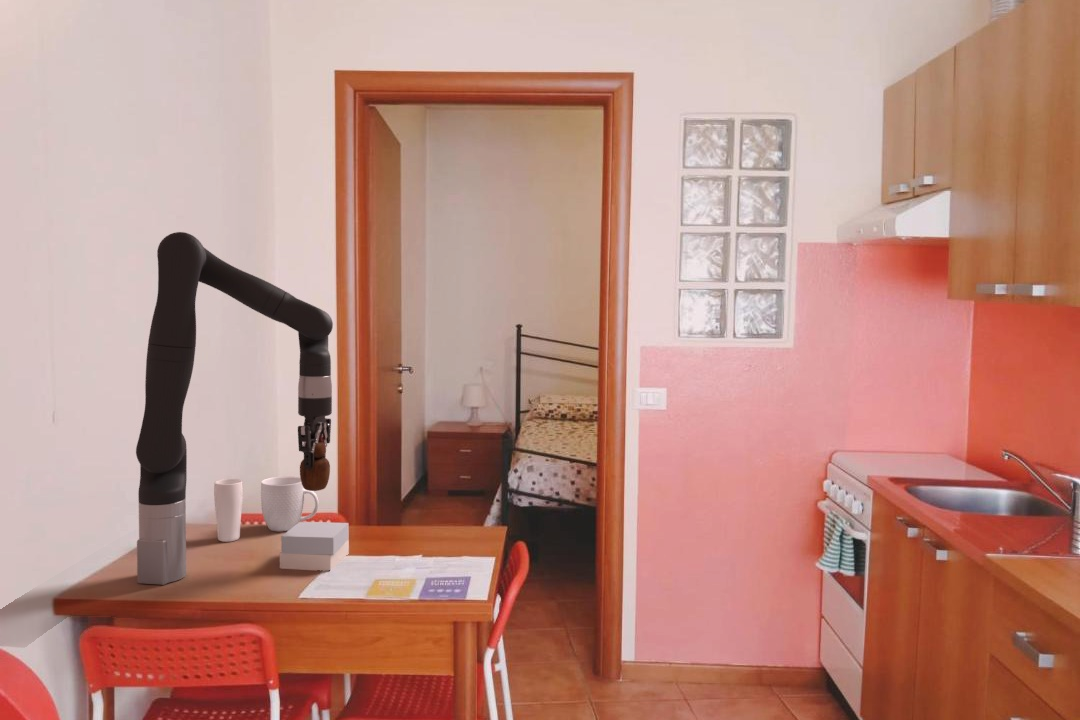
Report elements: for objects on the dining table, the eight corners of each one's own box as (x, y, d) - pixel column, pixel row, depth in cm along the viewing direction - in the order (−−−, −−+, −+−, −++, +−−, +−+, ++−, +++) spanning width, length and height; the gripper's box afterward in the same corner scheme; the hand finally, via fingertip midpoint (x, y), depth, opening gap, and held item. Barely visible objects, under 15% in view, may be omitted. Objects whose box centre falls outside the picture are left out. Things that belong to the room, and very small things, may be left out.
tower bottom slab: (330, 572, 174) (330, 555, 174) (279, 570, 175) (279, 553, 175) (348, 556, 186) (348, 539, 186) (301, 553, 187) (301, 537, 187)
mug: (320, 521, 214) (320, 475, 213) (317, 533, 203) (317, 484, 202) (264, 523, 211) (264, 476, 210) (257, 535, 200) (257, 485, 199)
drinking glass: (215, 536, 198) (215, 479, 197) (243, 534, 200) (243, 478, 199) (213, 544, 192) (212, 485, 191) (242, 542, 194) (241, 483, 193)
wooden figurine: (299, 493, 176) (299, 428, 175) (299, 487, 181) (300, 424, 180) (330, 491, 178) (330, 427, 177) (329, 485, 183) (329, 423, 182)
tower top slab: (333, 554, 174) (333, 537, 174) (281, 553, 175) (281, 536, 175) (348, 539, 186) (348, 522, 186) (300, 537, 187) (299, 521, 187)
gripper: (318, 399, 171) (318, 473, 172) (342, 392, 185) (341, 460, 186) (286, 397, 171) (286, 471, 173) (312, 391, 186) (311, 459, 187)
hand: (314, 465), depth 179 cm, fingers closed on wooden figurine, 6 cm apart
